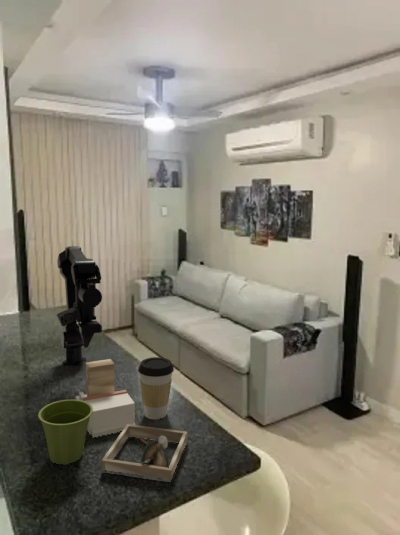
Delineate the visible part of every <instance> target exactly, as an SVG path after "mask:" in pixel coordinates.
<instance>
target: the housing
mask: <svg viewBox="0 0 400 535" xmlns="http://www.w3.org/2000/svg"><path fill="white" fill-rule="evenodd" d="M75 400H81V401H85V402H87V403H89V404H90V405H91V406H92V407H93V412H92V414H91V416H90V419H89V423H88V425H87V432H89V433H88V434H89V435H91V437H92V436H93V437H92V438H93V439H94V437H96V438H99V437H98V436H100V437H103V436H102V435H105V436H108V435H107V434H109V435H112V434H111V433H113V434H117V432H118V433H121V432H120V431H123V429H124V428H125V426H126V425H127V424H131V425H136V422H135V421H136V420H135V414H136V411H135V410H136V408H135V407H136V404H135V401H134V400H133V398H131V396H130V394H129V393H128V391H127V389H122V390H118V391H117V390H116V391H115V390H114V392H111V393H105V394H100V395H94V396H89V397H87V393H86V394H84V392H83V391H79V392H78V395H77V396H75Z"/></svg>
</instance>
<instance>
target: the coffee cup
mask: <svg viewBox="0 0 400 535" xmlns="http://www.w3.org/2000/svg"><path fill="white" fill-rule="evenodd" d="M174 370H175V368H174V365H173V364H172V361H171V359H168V358H165V357H161V356H160V357H157V356H154V357H148V358H145V359H142V360H141V361H140V363H139V366H138V369H137V372H138V373H139V376H140V378H139V381H140V383H139V384H140V391H141V398H142V399H141V400H142V405H143V413H144V415H143V416H144V417H145V418H147V419H149V420H160V418H161V419H163V418H165V417H166V416H167V412H168V404H169V400H170V394H171V387H172V376H173V372H174Z"/></svg>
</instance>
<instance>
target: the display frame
mask: <svg viewBox="0 0 400 535" xmlns="http://www.w3.org/2000/svg"><path fill="white" fill-rule="evenodd" d="M161 435H162V436H165V437H166V438H167V441H170V442H179V444H178V445H177V447H176V449H175V451H174V453H173V456H172V459H171V461H170V464H168V467H169V468H167V467H160V466H153V464H144V463H137V462H132V461H127V460H126V461H124V460H119V459H114V457H115V456H116V454H117V453H118V451H119V450H120V448H121V447H122V446H123V444H124V443H125V441H126V440H127V439H128V440H129V438H130V437H129V436H133V437H142V438H147V439H148V438H150V439H156V438H158V439H159V436H161ZM128 437H129V438H128ZM147 439H146V440H147ZM158 439H157V440H158ZM128 440H127V441H128ZM127 441H126V442H127ZM186 443H187V444H188V431H184V430H183V431H182V430H178V429H177V430H176V429H170V428H169V429H167V428H162V427H161V428H160V427H152V426H147V425H146V426H145V425H138V424H135V425H131V424H127V425H126V426H125V428H124V429H123V431H122V432H120V434H119V435H118V436H117V438H116V439H115V441H114V442H113V444H112V445H111V446H110V448H109V449H108V450H107V452H106V453H105V455H104V456H103V458H102V459H101V471H102V470H107V471H114V472H122V473H129V474H138V475H142V476H143V475H144V476H150V477H155V478H162V479H167V480H171V479H172V476H173V474H174V472H175V469H176V467H177V464H178V462H179V460H180V457H181V455H182V452H183V450H184V451H185V449H186V447H185V445H186V446H187V444H186ZM125 444H126V443H125ZM125 444H124V445H125ZM123 447H124V446H123ZM123 447H122V448H123ZM184 448H185V449H184ZM120 451H121V450H120ZM183 453H184V452H183ZM118 454H119V453H118ZM182 456H183V455H182ZM116 457H117V456H116ZM181 458H182V457H181ZM113 459H114V460H113ZM180 461H181V460H180ZM179 463H180V462H179ZM177 468H178V467H177ZM175 473H176V472H175Z"/></svg>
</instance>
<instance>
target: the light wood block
mask: <svg viewBox="0 0 400 535" xmlns="http://www.w3.org/2000/svg"><path fill="white" fill-rule="evenodd" d="M85 365H86V366H85V371H86V372H85V374H86V376H85V378H86V394H87V397H89V396H94V395H100V394H105V393H111V392H114V391H115V363H114V361H113V360H112V359H111V358H108V359H101V360H93V361H87V362H85Z"/></svg>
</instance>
